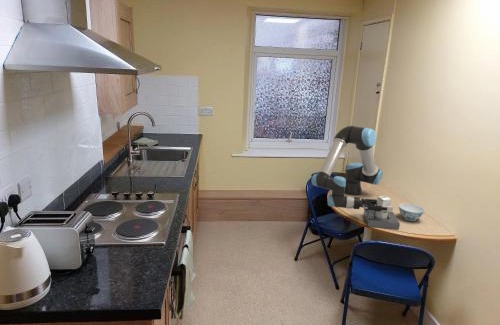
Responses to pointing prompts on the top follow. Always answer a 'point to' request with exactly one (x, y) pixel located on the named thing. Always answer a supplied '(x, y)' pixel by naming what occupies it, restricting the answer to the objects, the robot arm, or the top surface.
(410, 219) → the chinaware
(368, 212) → the collar
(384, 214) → the syrup box
